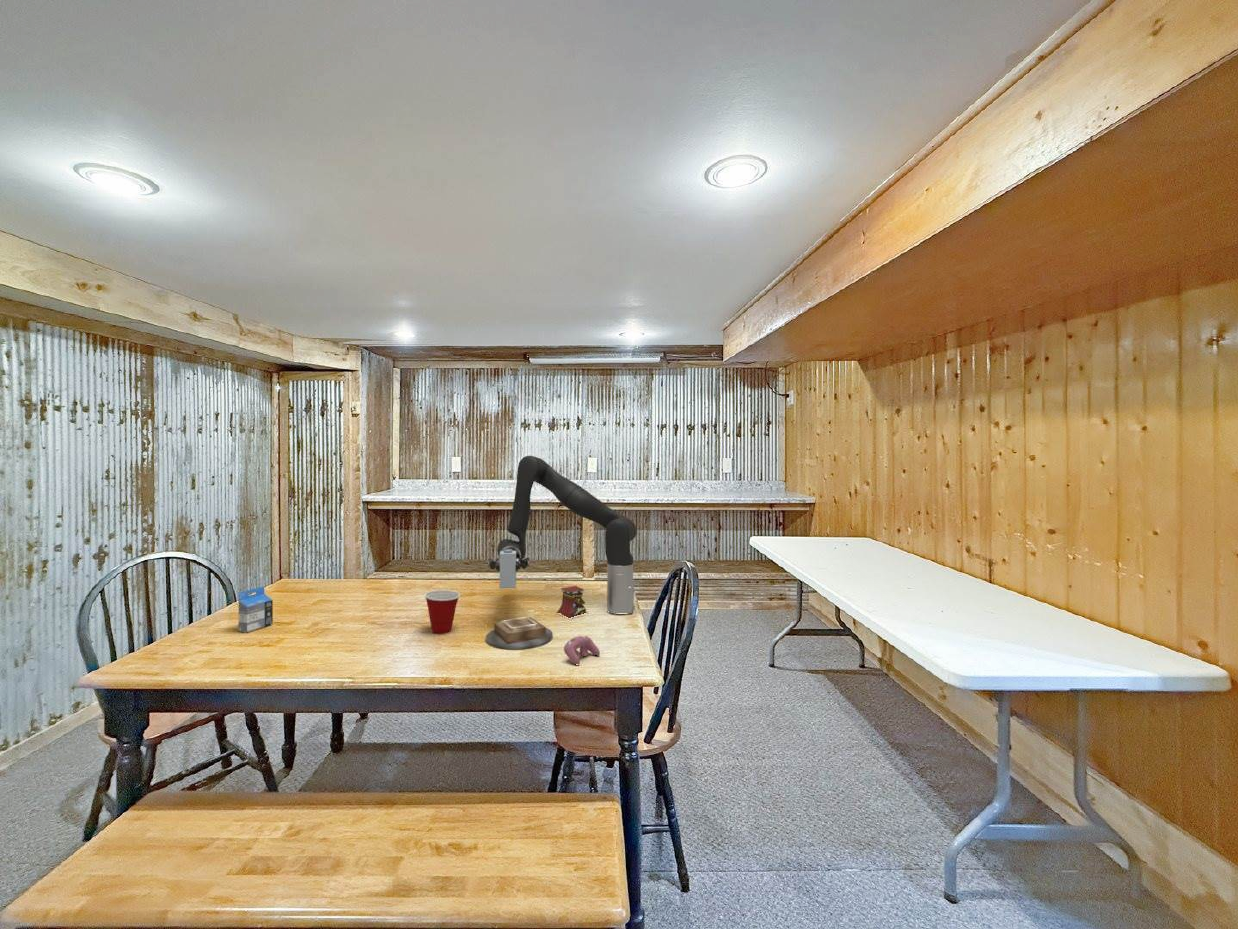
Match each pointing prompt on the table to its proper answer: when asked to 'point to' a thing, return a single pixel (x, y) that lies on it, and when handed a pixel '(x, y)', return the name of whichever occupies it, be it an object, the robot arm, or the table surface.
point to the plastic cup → (441, 609)
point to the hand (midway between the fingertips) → (507, 567)
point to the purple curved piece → (584, 646)
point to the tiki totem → (572, 602)
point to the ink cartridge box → (254, 610)
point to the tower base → (517, 645)
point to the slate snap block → (507, 569)
